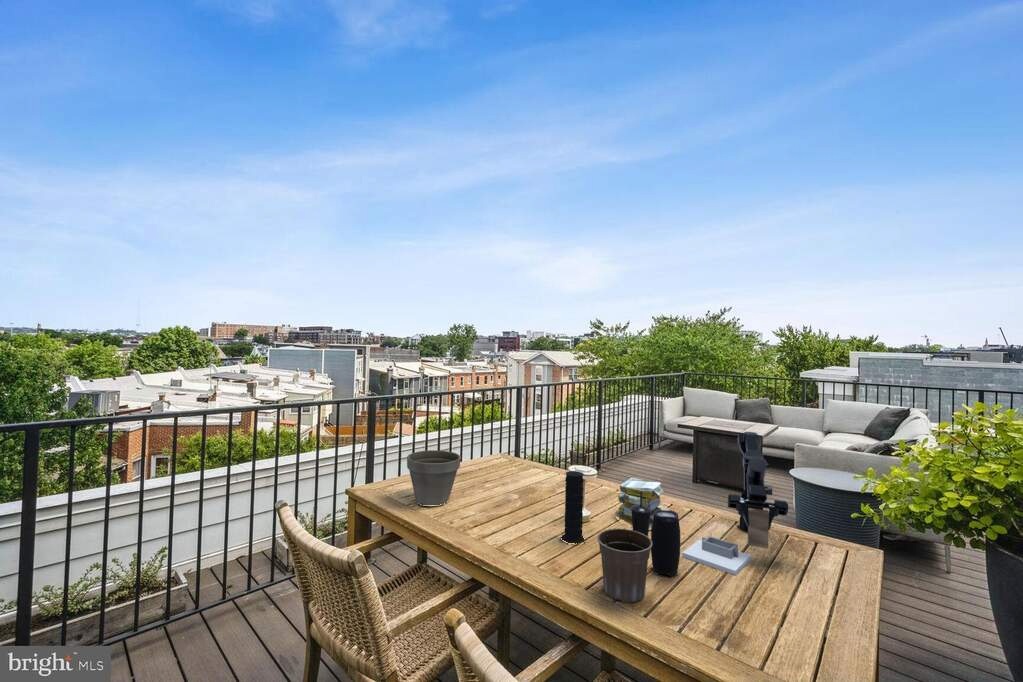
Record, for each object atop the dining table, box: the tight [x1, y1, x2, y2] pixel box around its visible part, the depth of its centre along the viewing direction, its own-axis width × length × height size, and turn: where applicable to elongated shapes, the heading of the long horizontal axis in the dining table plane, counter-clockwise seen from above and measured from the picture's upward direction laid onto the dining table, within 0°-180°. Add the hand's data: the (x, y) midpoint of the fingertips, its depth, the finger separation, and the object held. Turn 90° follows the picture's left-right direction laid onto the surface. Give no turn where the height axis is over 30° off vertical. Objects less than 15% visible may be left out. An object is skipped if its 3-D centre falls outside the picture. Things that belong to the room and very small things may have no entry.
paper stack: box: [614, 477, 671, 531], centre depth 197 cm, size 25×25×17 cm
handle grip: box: [560, 470, 585, 544], centre depth 175 cm, size 10×26×10 cm
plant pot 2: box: [596, 528, 652, 603], centre depth 138 cm, size 16×16×16 cm
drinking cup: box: [630, 492, 652, 537], centre depth 172 cm, size 8×8×20 cm
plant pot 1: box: [406, 449, 462, 505], centre depth 213 cm, size 25×25×22 cm
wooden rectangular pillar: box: [747, 508, 770, 550], centre depth 157 cm, size 4×6×12 cm, turn 67°
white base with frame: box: [681, 535, 752, 576], centre depth 162 cm, size 16×18×4 cm
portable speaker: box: [650, 509, 681, 578], centre depth 152 cm, size 9×9×20 cm
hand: (758, 527), depth 156 cm, fingers closed on wooden rectangular pillar, 6 cm apart
